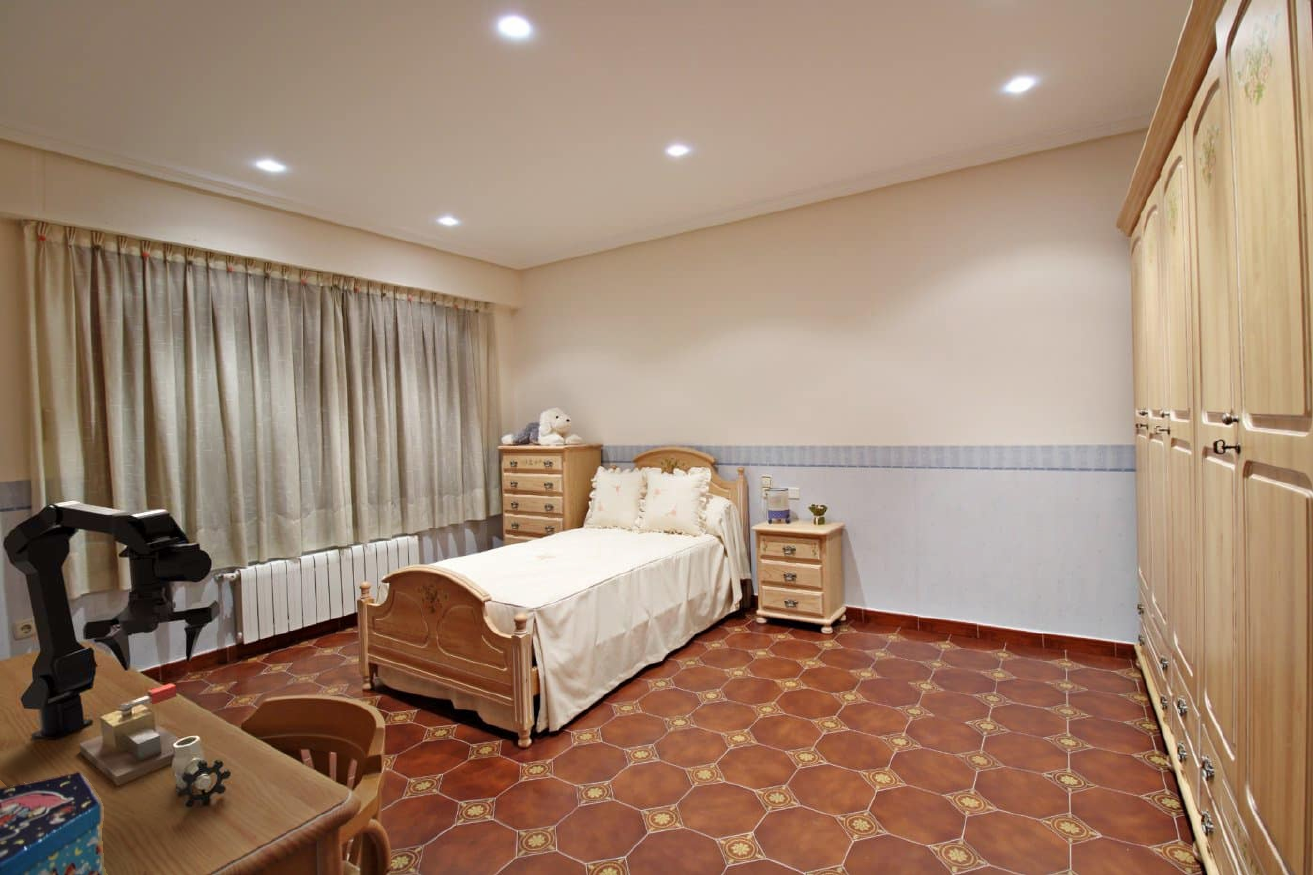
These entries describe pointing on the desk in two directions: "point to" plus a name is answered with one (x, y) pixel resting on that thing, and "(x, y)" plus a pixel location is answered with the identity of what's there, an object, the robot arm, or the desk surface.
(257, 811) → the desk surface
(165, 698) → the lever
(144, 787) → the desk surface
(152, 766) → the valve plank
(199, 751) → the valve
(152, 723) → the beige stepped block
